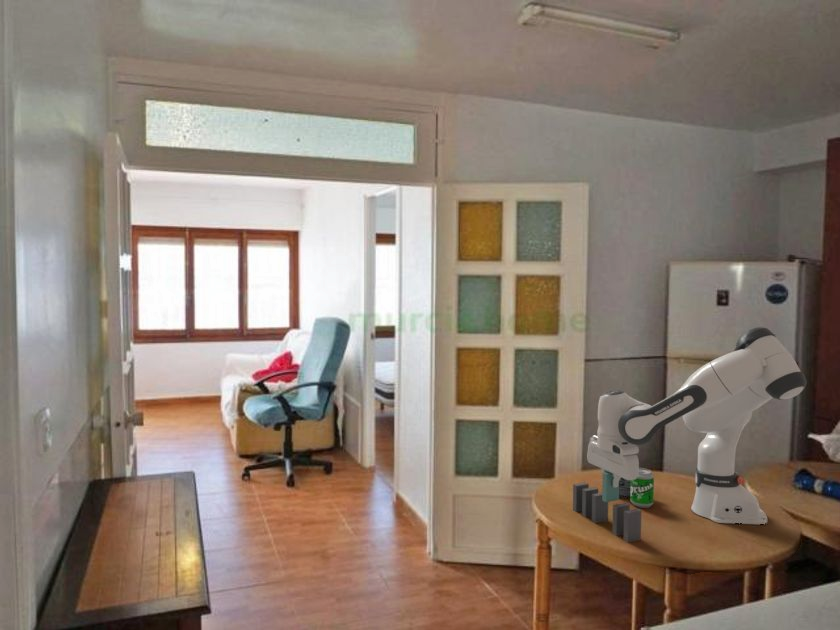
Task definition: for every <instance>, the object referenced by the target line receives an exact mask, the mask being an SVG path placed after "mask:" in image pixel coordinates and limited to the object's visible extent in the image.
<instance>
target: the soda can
mask: <svg viewBox="0 0 840 630" xmlns="http://www.w3.org/2000/svg"><path fill="white" fill-rule="evenodd" d="M654 478H655V475H654V473H653V472H652V471H651V470H650V469H648V468H644V467H643V468H639V474H638V477H637V478H636V479H634V480H631V493H630V499H629V501H630V503H632V505H633V506H635V507H637V508H640V509H641V508H642V509H648V508H650V507H651V506H653V504H654V489H655V487H654V484H655V482H654V480H655V479H654Z"/></svg>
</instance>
